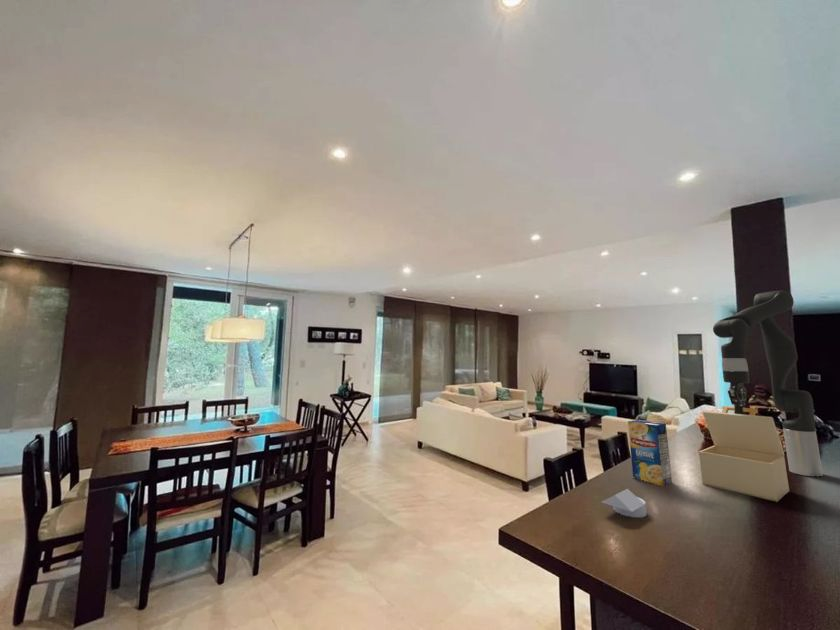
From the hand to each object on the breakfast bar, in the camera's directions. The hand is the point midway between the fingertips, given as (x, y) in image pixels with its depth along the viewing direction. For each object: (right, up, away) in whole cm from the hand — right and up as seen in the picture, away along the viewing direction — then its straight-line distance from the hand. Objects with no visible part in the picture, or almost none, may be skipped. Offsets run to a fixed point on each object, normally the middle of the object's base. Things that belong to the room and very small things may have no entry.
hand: (740, 415), depth 133 cm
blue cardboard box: (-32, -26, +3) cm, 41 cm away
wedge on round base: (-59, -23, -25) cm, 68 cm away
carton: (-4, -24, -6) cm, 26 cm away
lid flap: (-1, -6, -2) cm, 6 cm away
